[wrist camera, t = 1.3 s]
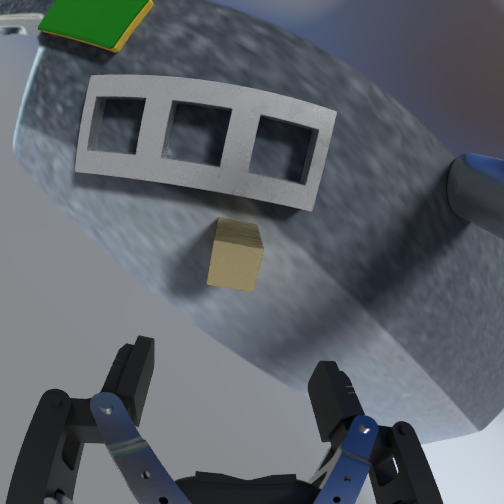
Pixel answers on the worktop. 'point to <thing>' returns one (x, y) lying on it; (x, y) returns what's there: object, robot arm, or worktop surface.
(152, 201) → the worktop surface
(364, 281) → the worktop surface
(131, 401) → the robot arm
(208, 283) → the brass peg
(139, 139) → the rail plate
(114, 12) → the dish sponge
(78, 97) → the worktop surface
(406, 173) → the worktop surface
